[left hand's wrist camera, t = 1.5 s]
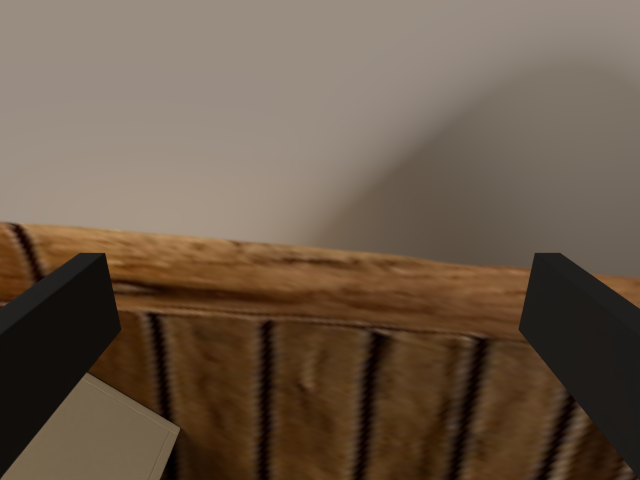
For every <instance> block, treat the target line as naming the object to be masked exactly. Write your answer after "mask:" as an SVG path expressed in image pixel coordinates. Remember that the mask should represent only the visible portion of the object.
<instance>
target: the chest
mask: <svg viewBox="0 0 640 480" xmlns="http://www.w3.org/2000/svg"><path fill="white" fill-rule="evenodd" d="M179 431H180V427H178V426H176V425H175V424H173V423H171V422H170V421H168V420H166V419H165V418H163V417H161V416H159V415H158V414H156V413H154V412H153V411H151V410H149V409H148V408H146V407H144V406H143V405H141V404H139V403H138V402H136V401H134V400H132V399H131V398H129V397H127V396H126V395H124V394H122V393H121V392H119V391H117V390H116V389H114V388H112V387H111V386H109V385H107V384H105V383H104V382H102V381H100V380H99V379H97V378H95V377H94V376H92V375H90V374H89V373H86V374H85V375H84V377H83V378H82V379H81V380H80V381H79V383H78V384H77V385H76V386H75V388H74V389H73V390H72V391H71V393H70V394H69V395H68V396H67V397H66V399H65V400H64V401H63V402H62V404H61V405H60V406H59V407H58V409H57V410H56V411H55V412H54V414H53V415H52V416H51V417H50V418H49V420H48V421H47V422H46V423H45V425H44V426H43V427H42V428H41V430H40V431H39V432H38V433H37V435H36V436H35V437H34V438H33V439H32V441H31V442H30V443H29V444H28V446H27V447H26V448H25V449H24V451H23V452H22V453H21V454H20V456H19V457H18V458H17V459H16V460H15V462H14V463H13V464H12V465H11V467H10V468H9V469H8V470H7V472H6V473H5V474H4V475H3V477H2V478H1V479H0V480H160V478H161V475H162V473H163V471H164V468H165V466H166V463H167V461H168V458H169V456H170V453H171V451H172V448H173V446H174V444H175V441H176V439H177V436H178V434H179Z"/></svg>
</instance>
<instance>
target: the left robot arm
mask: <svg viewBox="0 0 640 480" xmlns="http://www.w3.org/2000/svg"><path fill="white" fill-rule="evenodd" d="M120 331H121V325H120V321H119V316H118V311H117V307H116V302H115V297H114V293H113V288H112V283H111V279H110V274H109V269H108V264H107V260H106V255H105V253H79V254H78V255H76V256H75V257H73V258H72V259H71V260H69V261H68V262H66V263H65V264H64V265H62V266H61V267H59V268H58V269H56V270H55V271H54V272H52V273H51V274H49V275H48V276H46V277H45V278H44V279H42V280H41V281H39V282H38V283H36V284H35V285H34V286H32V287H31V288H29V289H28V290H26V291H25V292H24V293H22V294H21V295H19V296H18V297H16V298H15V299H14V300H12V301H11V302H9V303H8V304H6V305H5V306H4V307H2V308H1V309H0V479H1V478H2V477H3V475H4V474H5V473H6V472H7V470H8V469H9V468H10V467H11V465H12V464H13V463H14V462H15V460H16V459H17V458H18V457H19V456H20V454H21V453H22V452H23V451H24V449H25V448H26V447H27V446H28V444H29V443H30V442H31V441H32V439H33V438H34V437H35V436H36V435H37V433H38V432H39V431H40V430H41V428H42V427H43V426H44V425H45V423H46V422H47V421H48V420H49V418H50V417H51V416H52V415H53V414H54V412H55V411H56V410H57V409H58V407H59V406H60V405H61V404H62V402H63V401H64V400H65V399H66V397H67V396H68V395H69V394H70V393H71V391H72V390H73V389H74V388H75V386H76V385H77V384H78V383H79V381H80V380H81V379H82V378H83V377H84V375H85V374H86V373H87V372H88V370H89V369H90V368H91V367H92V365H93V364H94V363H95V362H96V360H97V359H98V358H99V357H100V356H101V354H102V353H103V352H104V351H105V349H106V348H107V347H108V346H109V344H110V343H111V342H112V341H113V339H114V338H115V337H116V336H117V335H118V333H119V332H120ZM519 331H520V332H521V333H522V335H523V336H524V337H525V338H526V339H527V341H528V342H529V343H530V344H531V346H532V347H533V348H534V349H535V351H536V352H537V353H538V354H539V356H540V357H541V358H542V359H543V360H544V362H545V363H546V364H547V365H548V367H549V368H550V369H551V370H552V372H553V373H554V374H555V375H556V377H557V378H558V379H559V380H560V381H561V383H562V384H563V385H564V386H565V388H566V389H567V390H568V391H569V393H570V394H571V395H572V396H573V397H574V399H575V400H576V401H577V402H578V404H579V405H580V406H581V407H582V409H583V410H584V411H585V412H586V414H587V415H588V416H589V417H590V418H591V420H592V421H593V422H594V423H595V425H596V426H597V427H598V428H599V430H600V431H601V432H602V433H603V435H604V436H605V437H606V438H607V439H608V441H609V442H610V443H611V444H612V446H613V447H614V448H615V449H616V451H617V452H618V453H619V454H620V456H621V457H622V458H623V459H624V460H625V462H626V463H627V464H628V465H629V467H630V468H631V469H632V470H633V472H634V473H635V474H636V475H637V477H638V478H639V479H640V309H639V308H638V307H636V306H635V305H634V304H632V303H631V302H629V301H628V300H626V299H625V298H624V297H622V296H621V295H619V294H618V293H616V292H615V291H614V290H612V289H611V288H609V287H608V286H606V285H605V284H604V283H602V282H601V281H599V280H598V279H596V278H595V277H594V276H592V275H591V274H589V273H588V272H586V271H585V270H584V269H582V268H581V267H579V266H578V265H576V264H575V263H574V262H572V261H571V260H569V259H568V258H566V257H565V256H564V255H562V254H561V253H535V255H534V260H533V265H532V269H531V274H530V279H529V283H528V288H527V293H526V297H525V302H524V307H523V311H522V316H521V321H520V325H519Z"/></svg>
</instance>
